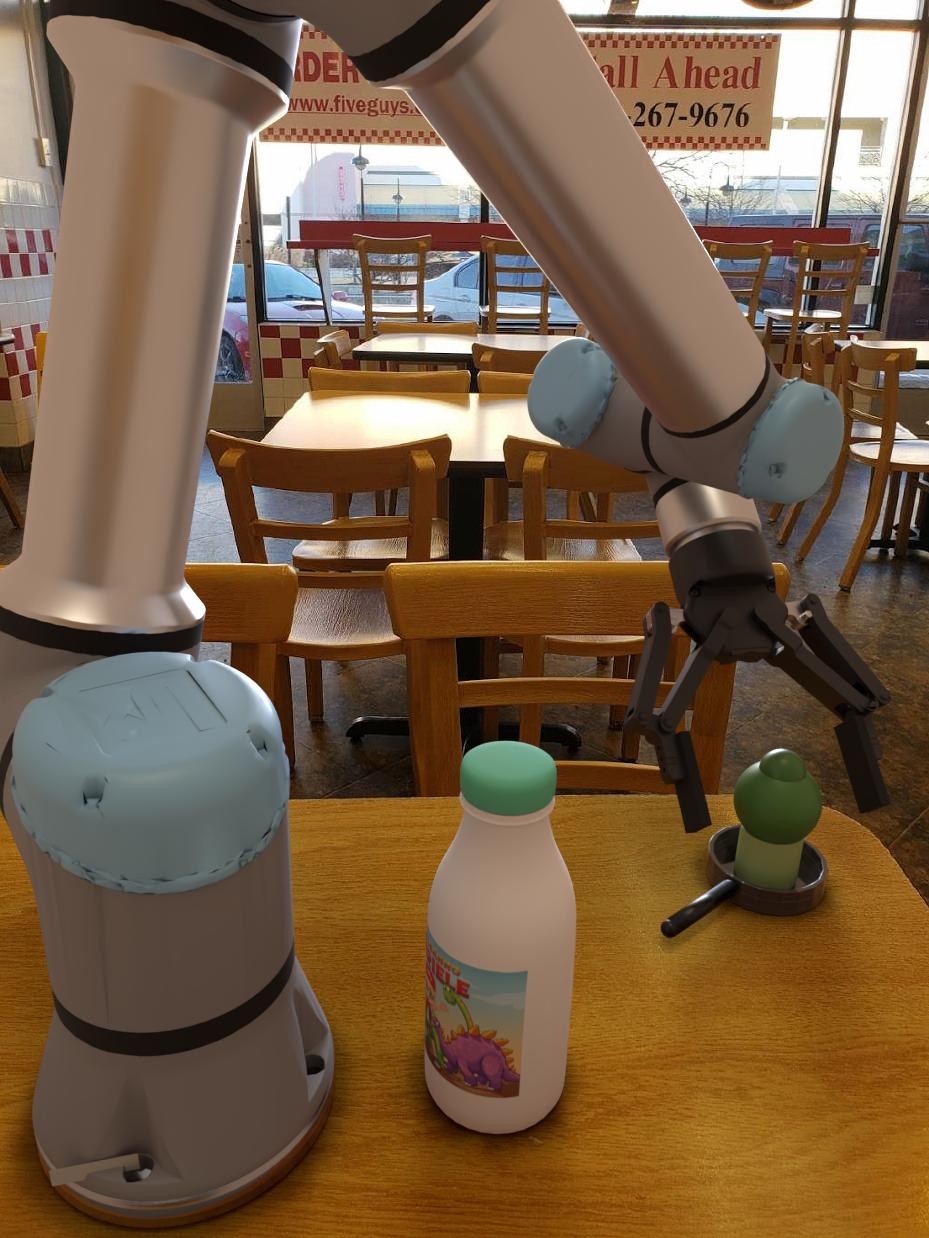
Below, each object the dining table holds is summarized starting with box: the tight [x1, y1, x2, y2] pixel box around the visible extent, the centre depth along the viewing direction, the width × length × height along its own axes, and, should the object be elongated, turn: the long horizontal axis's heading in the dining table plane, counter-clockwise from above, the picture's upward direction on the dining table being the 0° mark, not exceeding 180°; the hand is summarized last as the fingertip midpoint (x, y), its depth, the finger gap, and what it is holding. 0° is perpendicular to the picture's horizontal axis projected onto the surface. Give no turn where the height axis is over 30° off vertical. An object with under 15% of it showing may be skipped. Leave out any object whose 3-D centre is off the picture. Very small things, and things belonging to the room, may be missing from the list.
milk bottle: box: [424, 740, 577, 1135], centre depth 48 cm, size 8×8×20 cm
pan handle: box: [660, 880, 737, 939], centre depth 64 cm, size 1×8×1 cm, turn 131°
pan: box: [705, 823, 829, 917], centre depth 69 cm, size 8×8×2 cm
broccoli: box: [732, 748, 823, 890], centre depth 67 cm, size 6×6×10 cm
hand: (789, 819), depth 65 cm, fingers open, 13 cm apart
